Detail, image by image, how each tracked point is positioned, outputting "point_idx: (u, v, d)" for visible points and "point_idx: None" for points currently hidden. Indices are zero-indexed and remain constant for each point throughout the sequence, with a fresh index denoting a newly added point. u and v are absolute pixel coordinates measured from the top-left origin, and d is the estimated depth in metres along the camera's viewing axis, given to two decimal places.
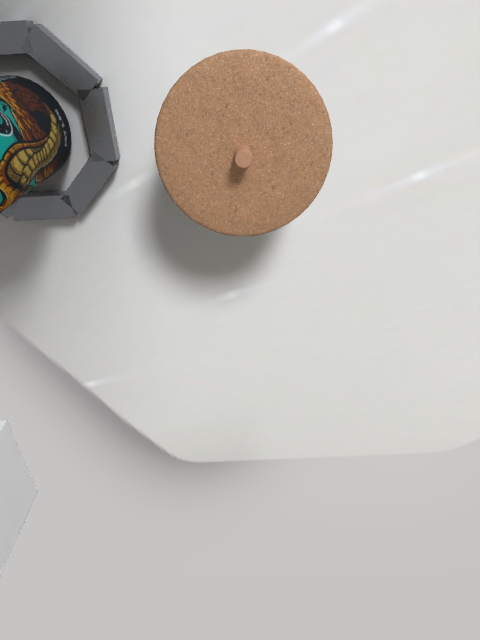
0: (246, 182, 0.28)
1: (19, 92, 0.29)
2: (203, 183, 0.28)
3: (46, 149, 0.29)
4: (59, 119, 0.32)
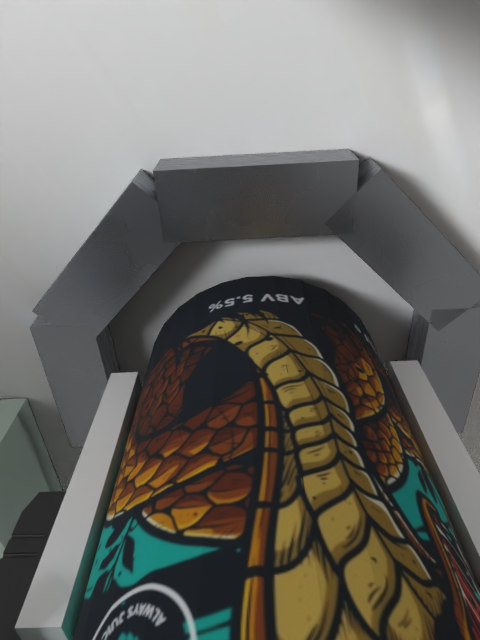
0: None
1: (144, 412, 0.10)
2: None
3: (298, 401, 0.08)
4: (231, 304, 0.12)
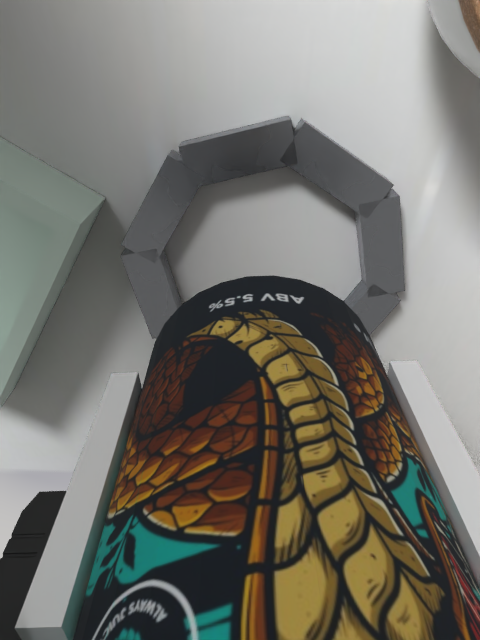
0: None
1: (145, 411, 0.10)
2: None
3: (298, 400, 0.08)
4: (231, 304, 0.12)
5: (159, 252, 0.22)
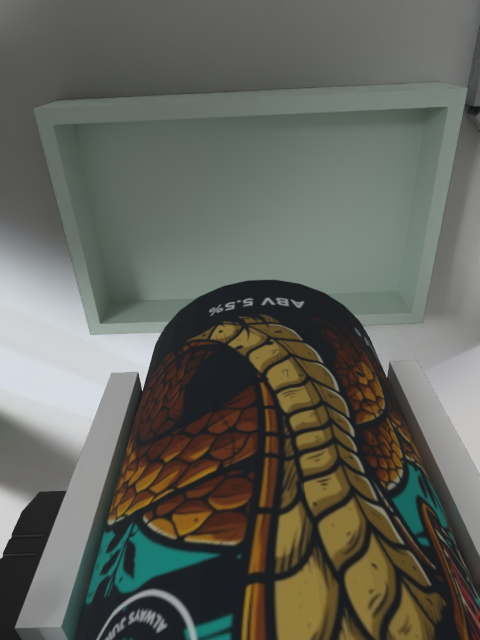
0: None
1: (145, 416, 0.10)
2: None
3: (298, 406, 0.08)
4: (231, 308, 0.12)
5: None
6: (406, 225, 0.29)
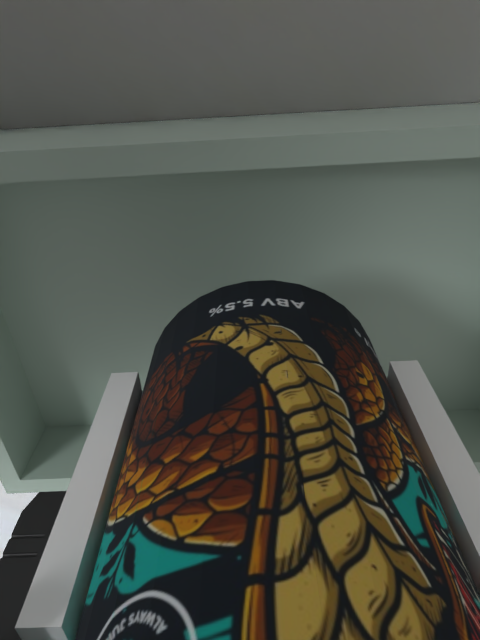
0: None
1: (145, 417, 0.10)
2: None
3: (298, 407, 0.08)
4: (231, 309, 0.12)
5: None
6: None
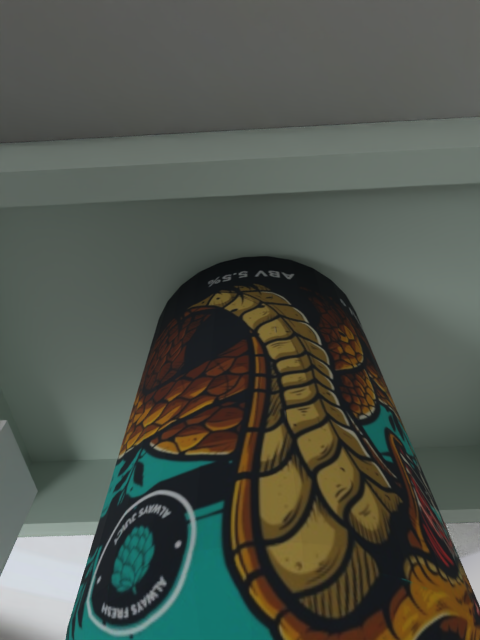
0: None
1: (150, 371, 0.11)
2: None
3: (285, 354, 0.10)
4: (228, 279, 0.13)
5: None
6: None
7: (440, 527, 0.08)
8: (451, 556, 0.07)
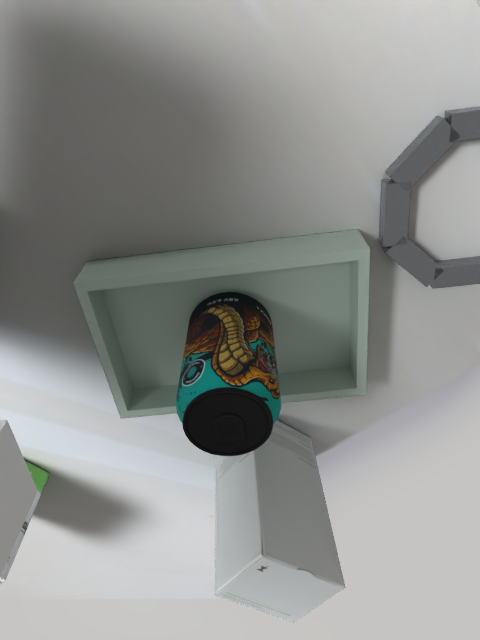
0: None
1: (189, 336, 0.34)
2: None
3: (230, 326, 0.32)
4: (214, 302, 0.36)
5: (406, 236, 0.35)
6: (348, 323, 0.39)
7: (267, 365, 0.30)
8: (267, 370, 0.30)
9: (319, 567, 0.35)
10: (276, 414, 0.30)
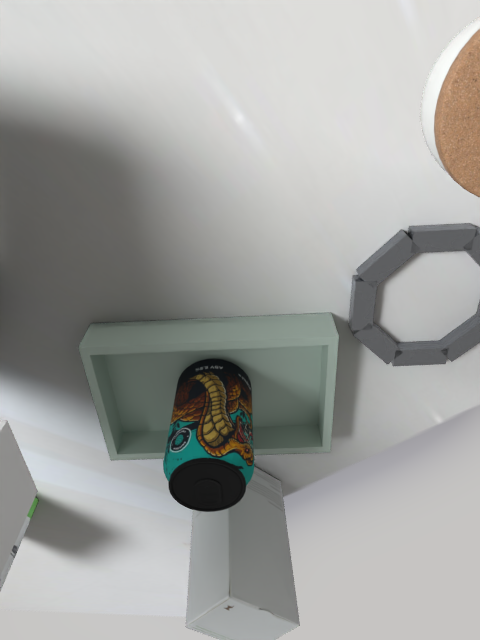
0: None
1: (178, 399, 0.39)
2: None
3: (214, 396, 0.37)
4: (201, 369, 0.41)
5: (371, 323, 0.40)
6: (318, 389, 0.45)
7: (244, 436, 0.35)
8: (243, 441, 0.35)
9: (278, 607, 0.40)
10: (249, 478, 0.35)
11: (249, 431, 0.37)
